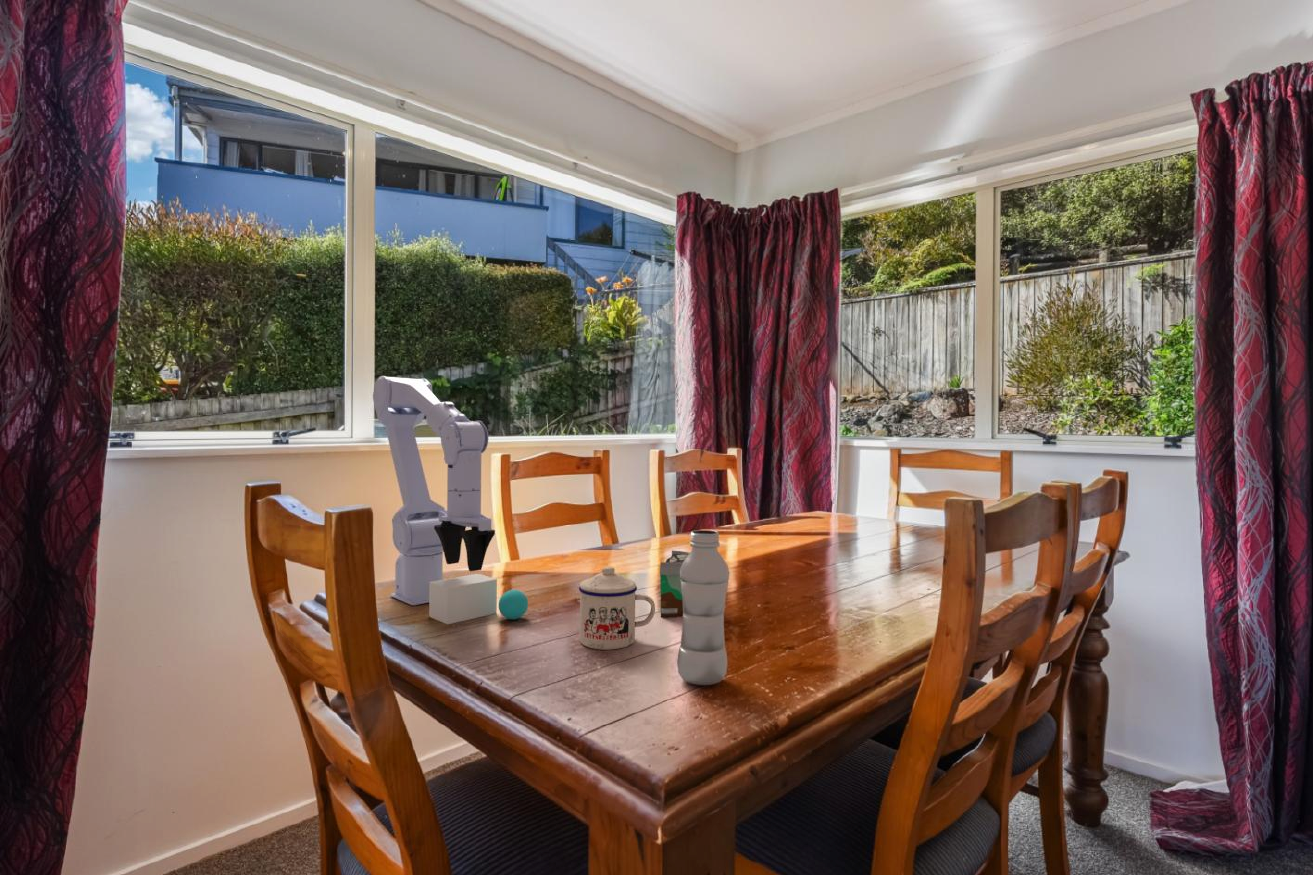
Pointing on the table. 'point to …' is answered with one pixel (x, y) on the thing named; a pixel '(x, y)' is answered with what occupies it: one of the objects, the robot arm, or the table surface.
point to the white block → (462, 598)
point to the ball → (513, 604)
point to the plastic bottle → (703, 611)
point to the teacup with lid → (609, 611)
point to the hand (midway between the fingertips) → (463, 566)
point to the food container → (672, 585)
